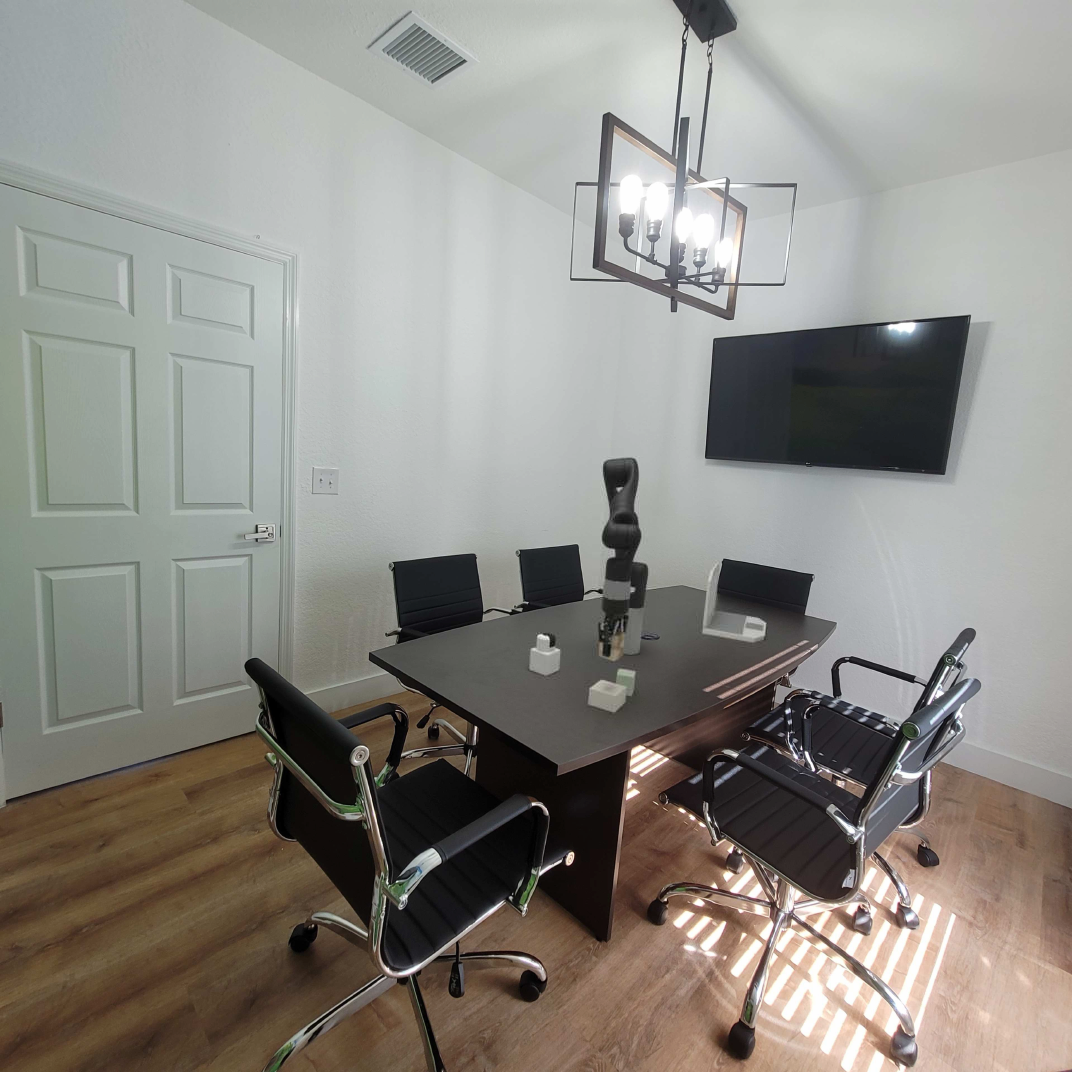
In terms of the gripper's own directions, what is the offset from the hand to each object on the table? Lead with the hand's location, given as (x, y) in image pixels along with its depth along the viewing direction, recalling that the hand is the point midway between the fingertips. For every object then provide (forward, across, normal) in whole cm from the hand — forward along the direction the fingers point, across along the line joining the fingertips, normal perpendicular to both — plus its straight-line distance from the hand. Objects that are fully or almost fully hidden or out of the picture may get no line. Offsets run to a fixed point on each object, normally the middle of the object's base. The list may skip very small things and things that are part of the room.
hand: (611, 653), depth 154 cm
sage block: (+15, -11, 0) cm, 19 cm away
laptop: (+15, -106, +5) cm, 107 cm away
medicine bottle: (+15, -7, -27) cm, 32 cm away
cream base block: (+15, 0, 0) cm, 15 cm away
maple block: (+1, 0, 0) cm, 1 cm away
